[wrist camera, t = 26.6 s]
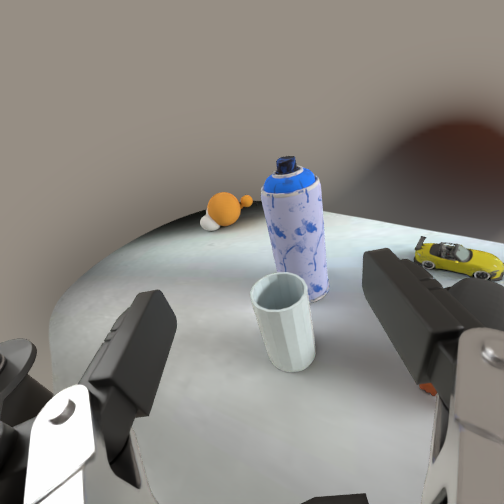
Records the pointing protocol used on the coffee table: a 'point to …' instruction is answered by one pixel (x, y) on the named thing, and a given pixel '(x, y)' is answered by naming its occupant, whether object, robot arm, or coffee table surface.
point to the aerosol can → (297, 224)
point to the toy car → (459, 260)
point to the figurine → (478, 306)
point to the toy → (223, 210)
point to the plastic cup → (285, 320)
